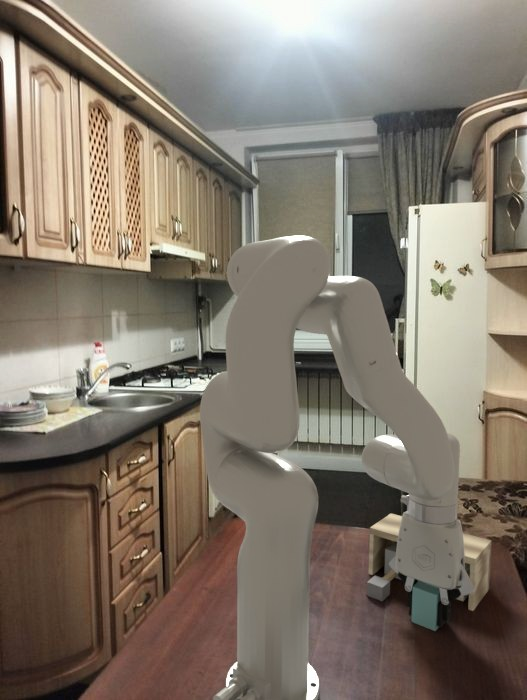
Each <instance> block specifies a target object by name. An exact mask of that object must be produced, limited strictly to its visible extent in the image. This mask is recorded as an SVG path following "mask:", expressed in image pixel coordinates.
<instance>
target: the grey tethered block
mask: <svg viewBox="0 0 527 700" xmlns="http://www.w3.org/2000/svg"><path fill="white" fill-rule="evenodd" d="M396 548H397V542H393V543H392V544H391V545H390V546H388V547H387V548H386V549H385V565H384V576H383V577H380V576H378V575H374V576H372V577H371V578H370V579H369V580H368V581H366V596H367V597H370V598H373V599H374V600H378V601H380V602H383V601H384V600H386V598H387V597H389V596H390V594H391V581H392V580H394V579H398V580H400V581H402V580H401V579H400V578H399V576H398V574H397V573H396V572H395V571H394V570H393V569H392V568H391V567H390V566H389V562H390V561H391V560H392V559H393V557H394V556H395V555H396Z"/></svg>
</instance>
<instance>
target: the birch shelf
mask: <svg viewBox="0 0 527 700" xmlns="http://www.w3.org/2000/svg"><path fill="white" fill-rule="evenodd" d="M401 519H402V515H398V514H395V513H392V512H391V513H389V514H388V515H387V516H385V517H384V518H382V519H381V520H379V521H378V522H376V523H374V524H373V525H372V526H370V527H369V545H368V547H369V550H368V575H370V576H373V575H376V573H377V572H379V570H380V569H381V568H383V567H385V549H386V548H387V547H388V546H390V545H391V544H392V543H393V542H397V540H398V534H399V528H400V523H401ZM463 539H464V552H465V563H468V564H470V580H471V581H472V583H473V585H474V587H475V589H474V591H473V592H472V593H471V594H469V595H468V603H467V604H468V605H467V606H468V610H469V611H472V612H474V611H475V610H476V608H477V606H478V605H479V604H480V602H481V601H482V599H483V598H484V597H485V596H486V594H487V593H489V591H490V585H491V584H490V581H491V562H492V561H491V559H492V540H491V539H487V538H484V537H479V536H476V535H473V534H470V533H464V532H463Z"/></svg>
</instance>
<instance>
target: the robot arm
mask: <svg viewBox="0 0 527 700" xmlns="http://www.w3.org/2000/svg"><path fill="white" fill-rule="evenodd" d="M331 266H332V263H331V257H330V253H329V250H328V248H327V247H326V246H325V244H323V242H322V241H320V240H319V239H317V238H314V237H311V236H308V235H290V236H282V237H276V238H272V239H267V240H266V239H265V240H260V241H255V242H249V243H246V244H244V245H242V246H240V247H239V248H238V249H236V250H235V251H234V252H233V254H232V255H231V257H230V259H229V260H228V264H227V268H226V278H227V279H226V280H227V282H228V285H229V288H230V289H231V291H232V292H233V294H234V295H235V296H236V297H237V298H236V299H235V302H234V304H233V306H232V308H231V311H230V313H229V315H228V319H227V323H226V329H225V357H226V358H225V359H226V371H223V372H221V373H219V374H217V375H215V376H213V378H212V379H211V380H210V381H208V383H207V385H206V387H205V389H204V391H203V393H202V396H201V400H200V405H199V418H200V419H199V422H200V428H201V429H200V431H201V438H202V444H203V454H204V461H205V468H206V475H207V480H208V483H209V487H210V490H211V492H212V494H213V496H214V497H215V499H216V500H217V501H218V502H219V503H220V504H221V505H222V506H224V507H225V508H226V509H228V510H230V511H231V512H232V513H233V514H235V515H236V516H237V517H238V518H239V519H241V520H242V521H244V523H245V535H244V536H243V539H242V542H241V545H240V547H239V552H238V556H237V563H236V564H237V565H236V566H237V568H236V574H237V576H236V581H237V585H236V586H237V588H236V589H237V596H236V597H237V608H236V609H237V610H236V611H237V613H236V614H237V618H236V619H237V621H236V622H237V623H236V627H237V630H236V631H237V634H236V636H237V637H236V642H237V643H236V645H237V646H236V648H237V649H236V652H237V653H236V654H237V655H236V660H237V661H236V662H235V663H233V665H231V667H230V668H229V670H228V671H227V674H226V678H225V687H223V688H222V689H221V690H220V691H218V692H217V693H215V694H214V696H213V697H212V700H319V696H320V679H319V676H318V674H317V671H316V670H315V668H314V667H313V666H312V665H310V663H309V638H310V637H309V635H310V634H309V629H310V628H309V627H310V624H309V623H310V566H311V565H310V564H311V546H312V539H313V533H314V527H315V525H316V524H315V523H316V519H317V515H318V510H319V495H318V494H319V492H318V490H317V486H316V484H315V482H314V480H313V478H312V477H311V476H310V475H309V474H308V472H307V471H306V470H304V469H303V468H302V467H300V466H299V465H297V464H296V463H294V462H293V461H291V460H288V459H286V458H284V457H282V456H280V455H277V453H280V452H283V451H285V450H287V449H288V448H290V447H291V446H292V445H293V443H294V442H295V441H296V439H297V438H298V437H297V436H298V434H299V430H300V406H299V405H300V403H299V393H298V386H297V385H298V384H297V383H298V382H297V376H296V365H295V349H294V345H295V335H296V330H300V331H303V332H306V333H310V334H319V335H326V336H327V339H328V342H329V345H330V348H331V349H332V353H333V356H334V359H335V363H336V365H337V368H338V371H339V374H340V376H341V377H340V378H341V380H342V383H343V387H344V389H345V391H346V392H347V394H348V395H349V396H350V397H351V398H352V399H354V400H355V402H357V404H359V405H361V406H362V407H363V408H364V409H365V410H366V411H368V412H369V413H371V414H372V415H374V416H375V417H376V418H378V419H379V420H380V421H381V422H383V424H385V425H386V426H387V427H388V428H389V429H390V430H391V431H392V432H393V433H394V434H391V433H390V434H381V435H378V436H376V437H373V438H372V439H370V440H369V441H368V442H367V443H366V445H365V446H364V448H363V450H362V453H361V464H362V467H363V470H364V471H365V472H366V474H367V475H368V476H370V478H372V479H374V480H375V481H377V482H379V483H382V484H385V485H387V486H389V487H391V488H394V489H398V490H399V491H404V492H407V493H409V495H407V496H405V495H401V496H400V497H401V498H400V503H401V504H402V503H404V504H405V505H407V511H406V512H404V513H403V515H402V514H401V516H402V519H401V523H400V528H399V534H398V540H397V548H396V555H395V556H394V557H393V559H392V560H391V561H390V562H389V566H390V567H391V568H392V569H393V570H394V571H395V572H396V573H397V574H398V576H399V578H400V579H401V580H400V579H399V580H400V581H401V582H402V584H404V589H405V591H406V592H407V597H406V598H407V600H406V601H407V602H406V605H407V607H408V616H410V617H412V593H413V586H414V585H415V584H416V583H417V582H418V581H422V582H425V583H428V584H430V585H433V586H436V587H439V590H440V597H441V598H440V601H439V603H438V608H437V625H438V627H439V628H443V626H444V625H445V624H446V622H449V621H450V619H451V615H452V602H453V601H455V600H457V599H456V598H458V597H459V596H464V595H468V594H471V593H472V592H473V591H474V589H475V587H474V585H473V583H472V581H471V580H470V578H469V576H468V574H467V572H466V570H465V552H464V539H463V533H464V532H463V528H462V527H463V526H462V523H461V522H462V521H461V520H460V519H458V502H459V501H458V498H459V480H460V478H459V475H460V458H461V455H460V453H461V449H460V446H461V445H460V440H458V437H456V436H454V435H453V434H450V433H448V432H447V430H446V427H445V424H444V423H443V421H442V419H441V417H440V416H439V414H438V413H437V411H436V410H435V408H434V407H433V406H432V405H431V404H430V402H429V401H428V400H427V398H426V397H425V396H424V395H423V394H422V393H421V391H420V390H419V389H418V387H416V386H415V384H414V383H413V382H412V381H411V380H410V379H409V378H408V377H407V376H406V375H405V372H404V371H403V368H402V365H401V362H400V359H399V356H398V355H399V354H398V352H397V350H396V345H395V343H394V339H393V337H392V332H391V329H390V324H389V322H388V318H387V315H386V313H385V312H386V311H385V309H384V306H383V305H384V304H383V302H382V298H381V296H380V292H379V291H378V289H377V287H376V286H375V285H374V283H372V282H371V281H370V280H368V279H366V278H365V277H360V276H354V275H352V276H351V275H333V276H331V275H330V274H331V268H332V267H331ZM275 453H276V454H275ZM459 581H460V583H461V586H457V585H458V582H459ZM468 596H469V595H468Z"/></svg>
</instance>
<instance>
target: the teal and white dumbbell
mask: <svg viewBox="0 0 527 700" xmlns="http://www.w3.org/2000/svg"><path fill="white" fill-rule="evenodd" d="M465 570H466V572H467V574H468V576H469V578H470V564H468V563H465ZM457 586H461V583H460V581H459V582H458V585H457ZM468 597H469V594H468V595H464V596H459V597H458V598H456V599H455V600H458V601H461V602H464V601H465V600H466V599H467V598H468ZM440 598H441V597H440V590H439V587H436V586H433V585H430V584H428V583H425V582H422V581H418V582H417V583H416V584H415V585H414V586H413V593H412V616H411V623H414V624H416V625H419V626H421V627H424V628H426V629H428V630H431V631H434V632H437V630H438V629H439V628H440V627H438V625H437V608H438V603H439V601H440Z"/></svg>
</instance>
